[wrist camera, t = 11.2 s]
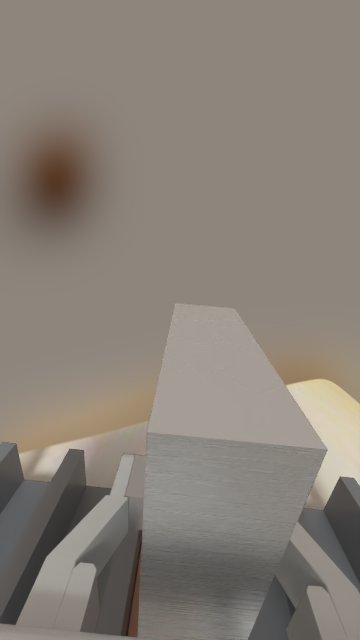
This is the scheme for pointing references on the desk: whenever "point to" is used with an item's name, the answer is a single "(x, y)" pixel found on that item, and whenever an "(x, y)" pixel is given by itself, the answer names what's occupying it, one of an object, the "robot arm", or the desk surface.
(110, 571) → the rack
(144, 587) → the panel
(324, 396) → the desk surface
